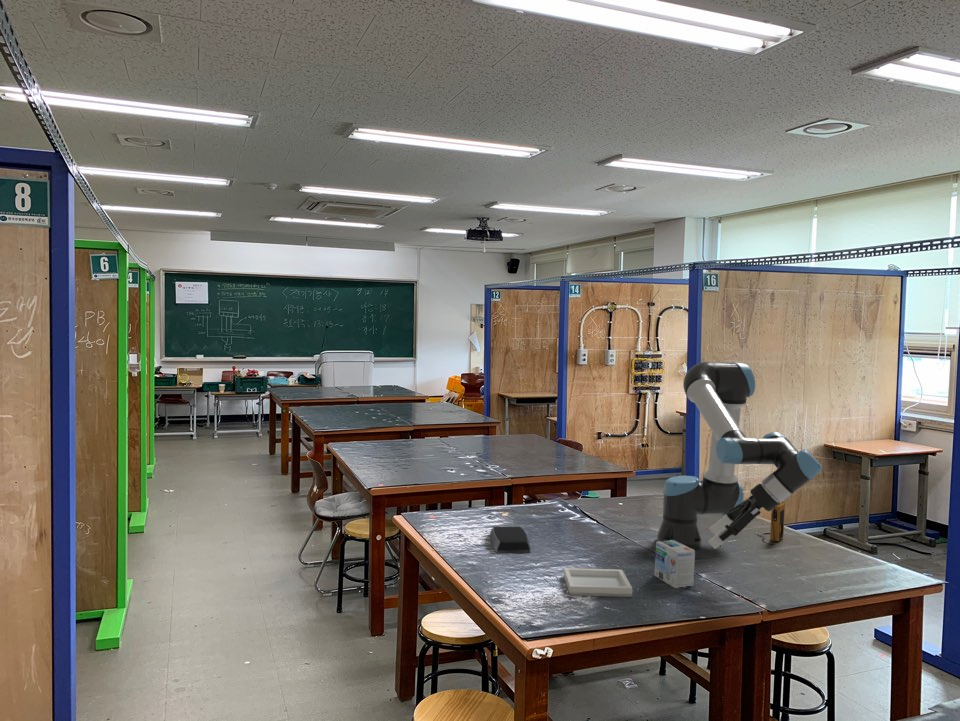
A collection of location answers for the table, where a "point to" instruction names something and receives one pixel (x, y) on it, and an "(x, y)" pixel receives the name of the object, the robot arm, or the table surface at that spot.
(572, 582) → the housing tray
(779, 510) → the multimeter
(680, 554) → the light bulb box
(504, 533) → the external hard drive
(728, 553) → the table surface
